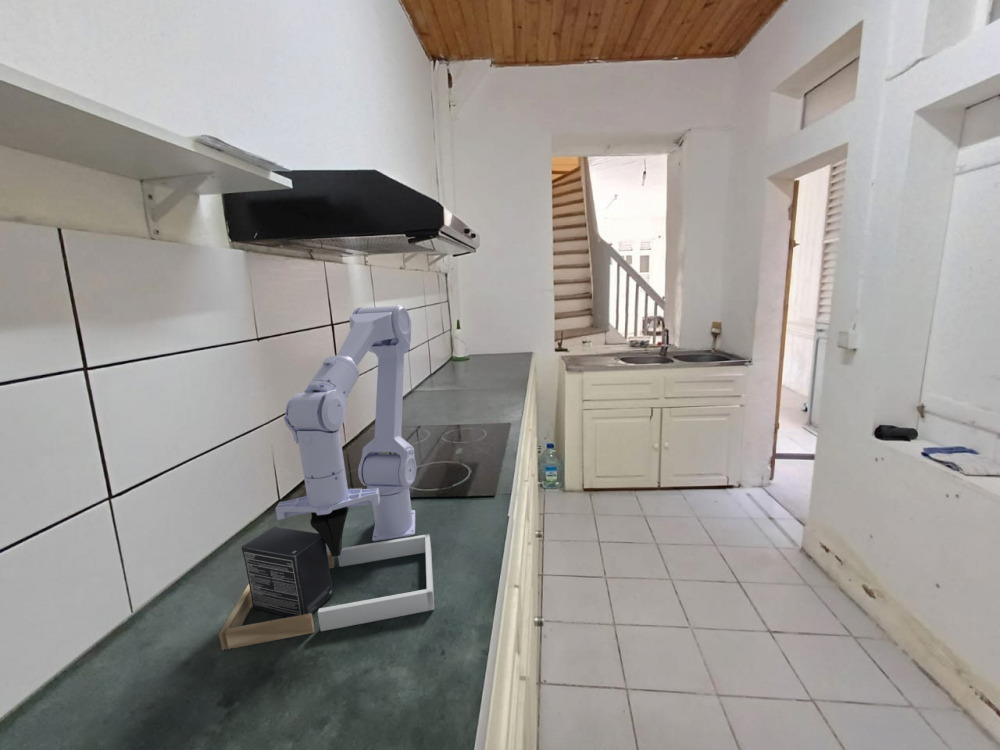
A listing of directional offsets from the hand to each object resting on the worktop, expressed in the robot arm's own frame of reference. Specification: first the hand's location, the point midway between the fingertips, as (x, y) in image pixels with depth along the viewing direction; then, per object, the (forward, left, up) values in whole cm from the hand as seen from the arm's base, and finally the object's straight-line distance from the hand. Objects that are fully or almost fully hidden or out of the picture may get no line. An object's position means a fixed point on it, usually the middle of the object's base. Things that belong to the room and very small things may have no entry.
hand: (336, 552), depth 66 cm
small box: (0, -7, -7) cm, 10 cm away
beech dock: (0, -8, -7) cm, 11 cm away
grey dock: (0, +6, -7) cm, 9 cm away
